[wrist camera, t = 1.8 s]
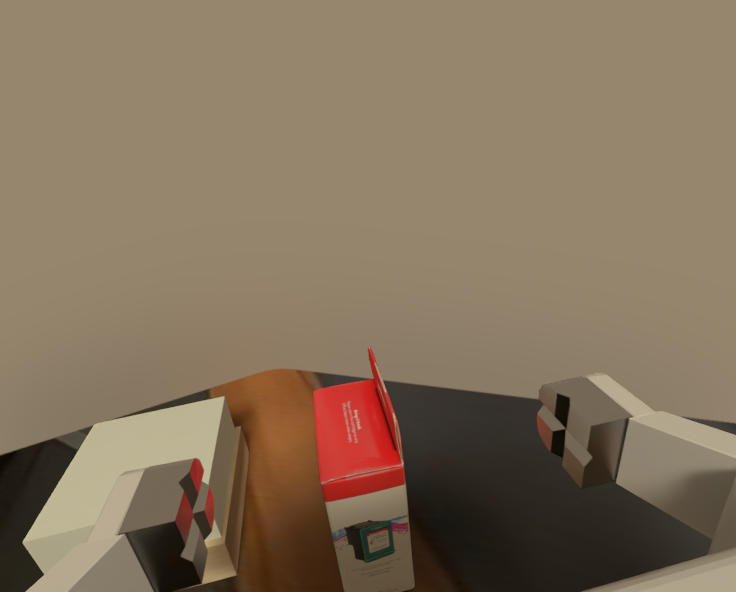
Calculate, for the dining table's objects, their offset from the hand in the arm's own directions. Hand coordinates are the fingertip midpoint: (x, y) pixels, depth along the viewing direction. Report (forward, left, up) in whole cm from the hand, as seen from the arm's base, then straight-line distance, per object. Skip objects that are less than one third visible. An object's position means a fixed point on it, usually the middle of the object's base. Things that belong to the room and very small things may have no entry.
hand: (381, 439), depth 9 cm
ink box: (0, -13, -22) cm, 26 cm away
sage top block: (+16, -19, -19) cm, 31 cm away
